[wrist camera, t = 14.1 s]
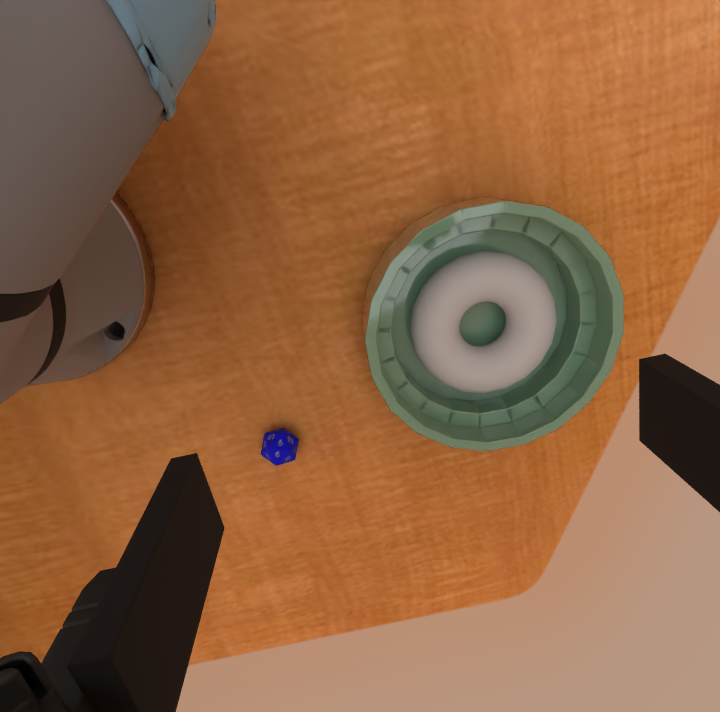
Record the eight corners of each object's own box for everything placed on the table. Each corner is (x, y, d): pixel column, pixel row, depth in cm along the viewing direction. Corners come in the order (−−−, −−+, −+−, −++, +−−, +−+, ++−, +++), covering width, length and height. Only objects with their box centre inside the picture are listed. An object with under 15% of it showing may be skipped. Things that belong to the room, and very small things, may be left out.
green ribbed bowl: (382, 434, 41) (388, 468, 36) (343, 222, 35) (344, 230, 30) (590, 397, 40) (624, 427, 36) (584, 177, 35) (623, 178, 30)
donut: (571, 324, 38) (493, 215, 35) (593, 339, 34) (510, 221, 31) (460, 406, 40) (378, 310, 37) (472, 428, 36) (382, 324, 33)
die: (306, 434, 41) (300, 470, 39) (278, 437, 42) (271, 473, 40) (288, 418, 39) (281, 456, 37) (259, 422, 40) (251, 459, 38)
